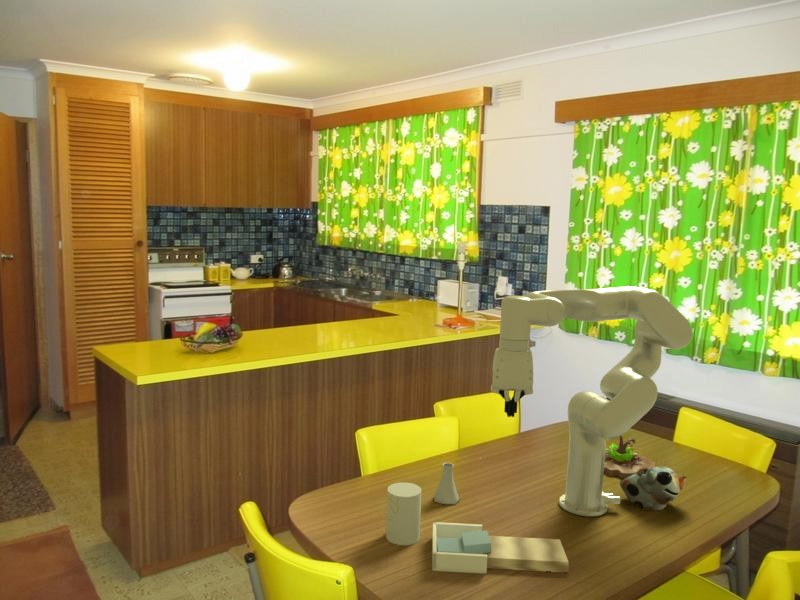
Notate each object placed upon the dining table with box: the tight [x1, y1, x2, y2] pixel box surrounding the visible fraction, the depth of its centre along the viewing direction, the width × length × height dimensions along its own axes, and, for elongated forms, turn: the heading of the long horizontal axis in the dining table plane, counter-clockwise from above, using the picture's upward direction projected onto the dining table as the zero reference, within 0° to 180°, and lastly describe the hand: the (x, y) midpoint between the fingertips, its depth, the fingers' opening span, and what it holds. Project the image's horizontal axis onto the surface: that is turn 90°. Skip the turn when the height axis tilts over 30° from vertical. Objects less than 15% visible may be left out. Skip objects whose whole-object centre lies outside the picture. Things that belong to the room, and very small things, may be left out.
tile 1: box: [436, 538, 465, 553], centre depth 147 cm, size 6×6×2 cm
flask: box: [433, 462, 460, 505], centre depth 176 cm, size 7×7×10 cm
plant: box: [604, 435, 657, 480], centre depth 205 cm, size 20×20×11 cm
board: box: [484, 535, 570, 573], centre depth 147 cm, size 18×10×2 cm, turn 87°
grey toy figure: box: [619, 466, 687, 511], centre depth 178 cm, size 15×12×14 cm
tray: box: [431, 521, 488, 574], centre depth 148 cm, size 12×15×4 cm
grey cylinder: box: [385, 482, 422, 546], centre depth 155 cm, size 8×8×12 cm
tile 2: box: [461, 529, 492, 554], centre depth 148 cm, size 6×6×2 cm
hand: (510, 415), depth 165 cm, fingers closed
